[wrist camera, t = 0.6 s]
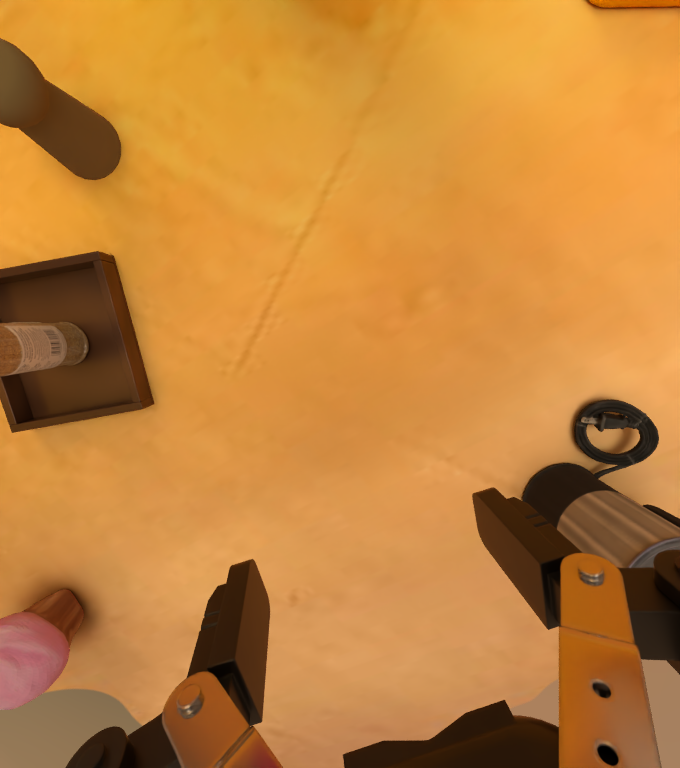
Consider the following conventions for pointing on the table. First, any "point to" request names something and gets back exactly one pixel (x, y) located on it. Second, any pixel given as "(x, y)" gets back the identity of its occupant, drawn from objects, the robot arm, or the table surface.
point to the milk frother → (605, 495)
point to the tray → (102, 328)
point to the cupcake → (36, 647)
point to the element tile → (635, 3)
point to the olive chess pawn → (55, 118)
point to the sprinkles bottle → (40, 346)
